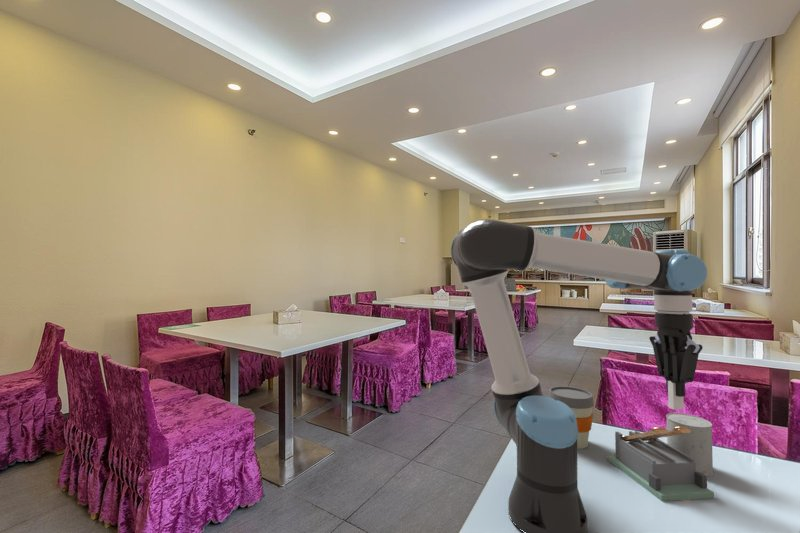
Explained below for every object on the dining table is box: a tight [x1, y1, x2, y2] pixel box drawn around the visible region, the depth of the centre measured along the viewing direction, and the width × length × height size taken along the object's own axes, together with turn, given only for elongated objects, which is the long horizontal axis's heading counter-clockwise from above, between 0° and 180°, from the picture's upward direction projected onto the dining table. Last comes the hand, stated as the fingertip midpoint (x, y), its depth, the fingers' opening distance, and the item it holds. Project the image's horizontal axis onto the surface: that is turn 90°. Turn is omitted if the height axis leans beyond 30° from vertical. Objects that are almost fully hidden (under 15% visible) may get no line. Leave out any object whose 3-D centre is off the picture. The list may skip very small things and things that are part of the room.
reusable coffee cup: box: [548, 385, 595, 450], centre depth 108 cm, size 13×13×15 cm
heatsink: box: [607, 430, 715, 502], centre depth 89 cm, size 13×18×8 cm
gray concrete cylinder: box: [665, 412, 714, 477], centre depth 94 cm, size 10×10×12 cm
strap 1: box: [623, 426, 669, 442], centre depth 90 cm, size 3×15×2 cm
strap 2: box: [642, 426, 691, 442], centre depth 90 cm, size 3×15×2 cm
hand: (676, 408), depth 87 cm, fingers closed
